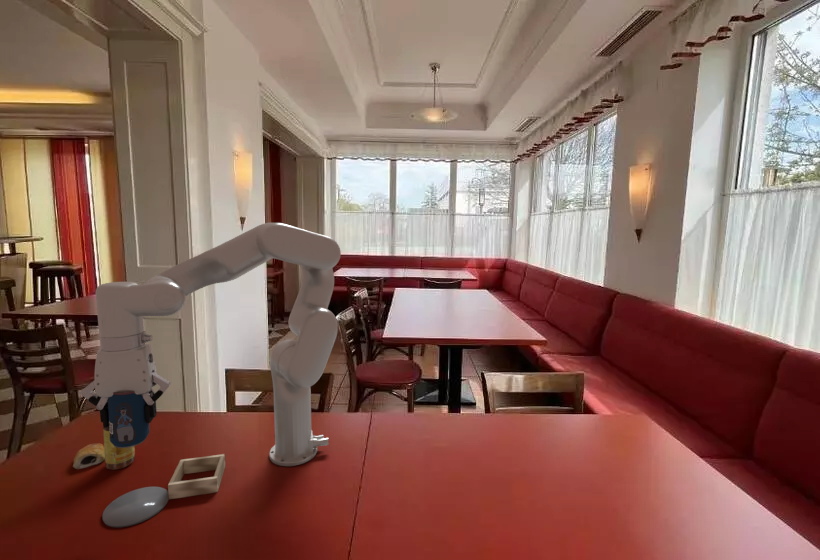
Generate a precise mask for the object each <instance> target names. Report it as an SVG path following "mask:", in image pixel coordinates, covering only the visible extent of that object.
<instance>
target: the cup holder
mask: <svg viewBox="0 0 820 560" xmlns="http://www.w3.org/2000/svg"><path fill="white" fill-rule="evenodd" d="M225 455H226V454H225V453H221V454H216V455H215V454H213V455H207V456H201V457H199V456H198V457H193V458H192V457H191V458H184V459H180V460H179V462H178V465H176V468H175V470H174V473H173V475H172V476H171V478H170V480H169V482H168V485H167V491H168V494H169V500H174V499H181V498H188V497H193V496H201V495H207V494H214V493H218V492H219V490H220V489H219V488H220V485H221V482H222V479H223V476H224V472H225V468H226V457H225ZM210 471H215V472H214V475H213V476H210V477H203V478H202V477H201V478H196V479H195V478H194V479H189V480H183V477H184V475H187V474H194V473H201V472H202V473H203V472H210Z"/></svg>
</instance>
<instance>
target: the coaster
mask: <svg viewBox="0 0 820 560" xmlns="http://www.w3.org/2000/svg"><path fill="white" fill-rule="evenodd" d="M169 500H170V499H169V494H168V489H166V488H164V487H160V486H145V487H141V488H137V489H133V490H131V491H129V492H126V493H123V494H122V495H120V496H118V497H116V498H115V499H114V500H113V501H112V502H110V503H109V504H108V505H107V506H106V508H105V509H104V510H103V511H102V512H103V513H102V516H101V517H102V521H103V523H104V525H106V526H107V527H111V528H117V529H118V528H126V527H132V526H135V525H138V524H140V523H143V522H146V521H147V520H149V519H151V518H153V517H154V516H156V515H158V514H159V513H160V512H161V511H162V510H163V509H164V508H165V507H166V506H167V504H168V503H169Z"/></svg>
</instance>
